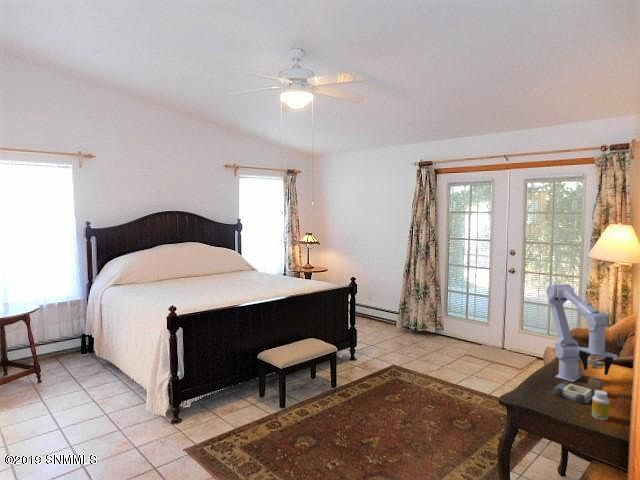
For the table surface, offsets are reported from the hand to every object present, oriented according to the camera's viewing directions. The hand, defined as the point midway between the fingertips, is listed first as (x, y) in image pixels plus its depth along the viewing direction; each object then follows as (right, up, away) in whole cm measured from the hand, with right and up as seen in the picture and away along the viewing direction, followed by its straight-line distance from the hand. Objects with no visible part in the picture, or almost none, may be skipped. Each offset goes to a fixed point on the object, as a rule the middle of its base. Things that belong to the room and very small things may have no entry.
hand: (595, 371), depth 181 cm
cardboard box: (0, -10, +1) cm, 10 cm away
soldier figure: (+21, -7, +33) cm, 40 cm away
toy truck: (-11, -10, -1) cm, 14 cm away
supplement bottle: (-12, -11, -20) cm, 26 cm away
